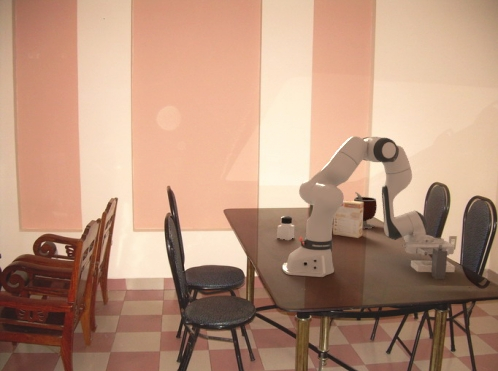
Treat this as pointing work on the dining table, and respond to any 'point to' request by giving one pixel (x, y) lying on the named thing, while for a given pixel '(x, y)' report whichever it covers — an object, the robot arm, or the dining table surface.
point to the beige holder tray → (429, 266)
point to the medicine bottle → (285, 228)
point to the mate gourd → (367, 209)
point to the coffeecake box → (349, 219)
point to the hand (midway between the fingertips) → (436, 253)
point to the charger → (439, 263)
